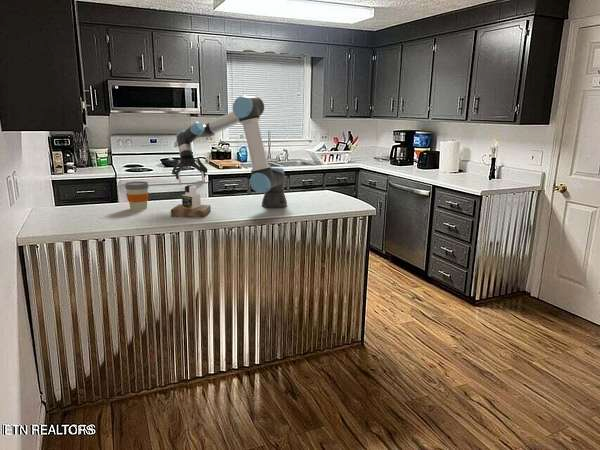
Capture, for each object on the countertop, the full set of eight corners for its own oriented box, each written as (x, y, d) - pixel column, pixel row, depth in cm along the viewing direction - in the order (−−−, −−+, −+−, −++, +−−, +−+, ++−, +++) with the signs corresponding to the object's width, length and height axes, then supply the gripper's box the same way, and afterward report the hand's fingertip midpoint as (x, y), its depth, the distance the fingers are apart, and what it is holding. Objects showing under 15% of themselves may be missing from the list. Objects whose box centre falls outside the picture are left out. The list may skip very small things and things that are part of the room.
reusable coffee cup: (122, 209, 251) (119, 183, 248) (139, 205, 262) (137, 180, 258) (138, 212, 246) (135, 185, 242) (154, 208, 257) (153, 182, 253)
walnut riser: (210, 212, 248) (210, 205, 247) (204, 217, 235) (204, 210, 234) (179, 211, 249) (178, 204, 248) (171, 217, 235) (170, 209, 234)
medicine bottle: (182, 207, 240) (180, 185, 237) (191, 205, 246) (190, 184, 243) (192, 209, 237) (191, 187, 233) (201, 206, 243) (200, 185, 240)
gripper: (206, 156, 270) (213, 184, 260) (164, 158, 260) (169, 187, 251) (207, 148, 264) (214, 177, 254) (164, 150, 254) (170, 179, 245)
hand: (192, 182), depth 252 cm, fingers open, 13 cm apart
